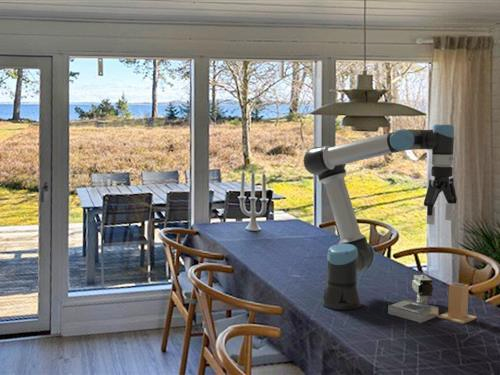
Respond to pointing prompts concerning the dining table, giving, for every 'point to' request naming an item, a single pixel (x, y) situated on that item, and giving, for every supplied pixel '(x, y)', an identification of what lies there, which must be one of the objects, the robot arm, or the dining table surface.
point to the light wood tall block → (458, 300)
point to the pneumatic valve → (422, 287)
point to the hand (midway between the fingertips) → (439, 222)
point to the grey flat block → (413, 310)
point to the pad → (462, 321)
